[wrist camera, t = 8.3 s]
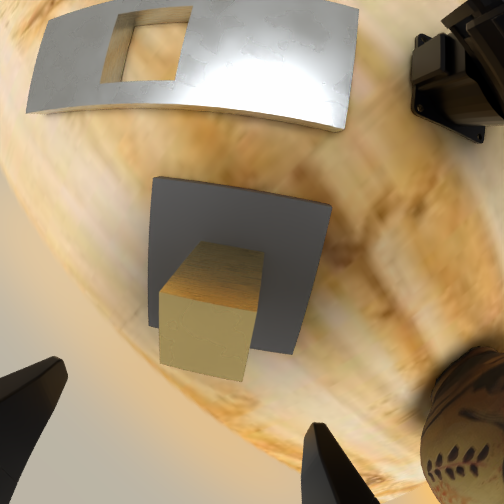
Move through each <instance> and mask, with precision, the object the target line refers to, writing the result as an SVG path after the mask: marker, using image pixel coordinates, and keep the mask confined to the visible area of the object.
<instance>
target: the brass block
mask: <svg viewBox="0 0 504 504" xmlns="http://www.w3.org/2000/svg"><path fill="white" fill-rule="evenodd" d="M264 253H265V252H260V251H254V250H249V249H243V248H238V247H233V246H227V245H222V244H216V243H211V242H205V241H200V243H199V244H198V245H197V246H196V247H195V248H194V250H193V251H192V252H191V253H190V255H189V256H188V257H187V258H186V259H185V261H184V262H183V263H182V264H181V265H180V267H179V268H178V269H177V270H176V272H175V273H174V274H173V275H172V277H171V278H170V279H169V280H168V282H167V283H166V284H165V285H164V287H163V288H162V289H161V290H160V292H159V348H160V364H164V365H168V366H172V367H175V368H179V369H183V370H187V371H192V372H196V373H200V374H205V375H209V376H214V377H219V378H224V379H229V380H234V381H239V382H242V381H243V376H244V371H245V367H246V362H247V357H248V353H249V348H250V343H251V338H252V334H253V329H254V324H255V319H256V314H257V308H258V300H259V293H260V285H261V277H262V269H263V261H264Z"/></svg>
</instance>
